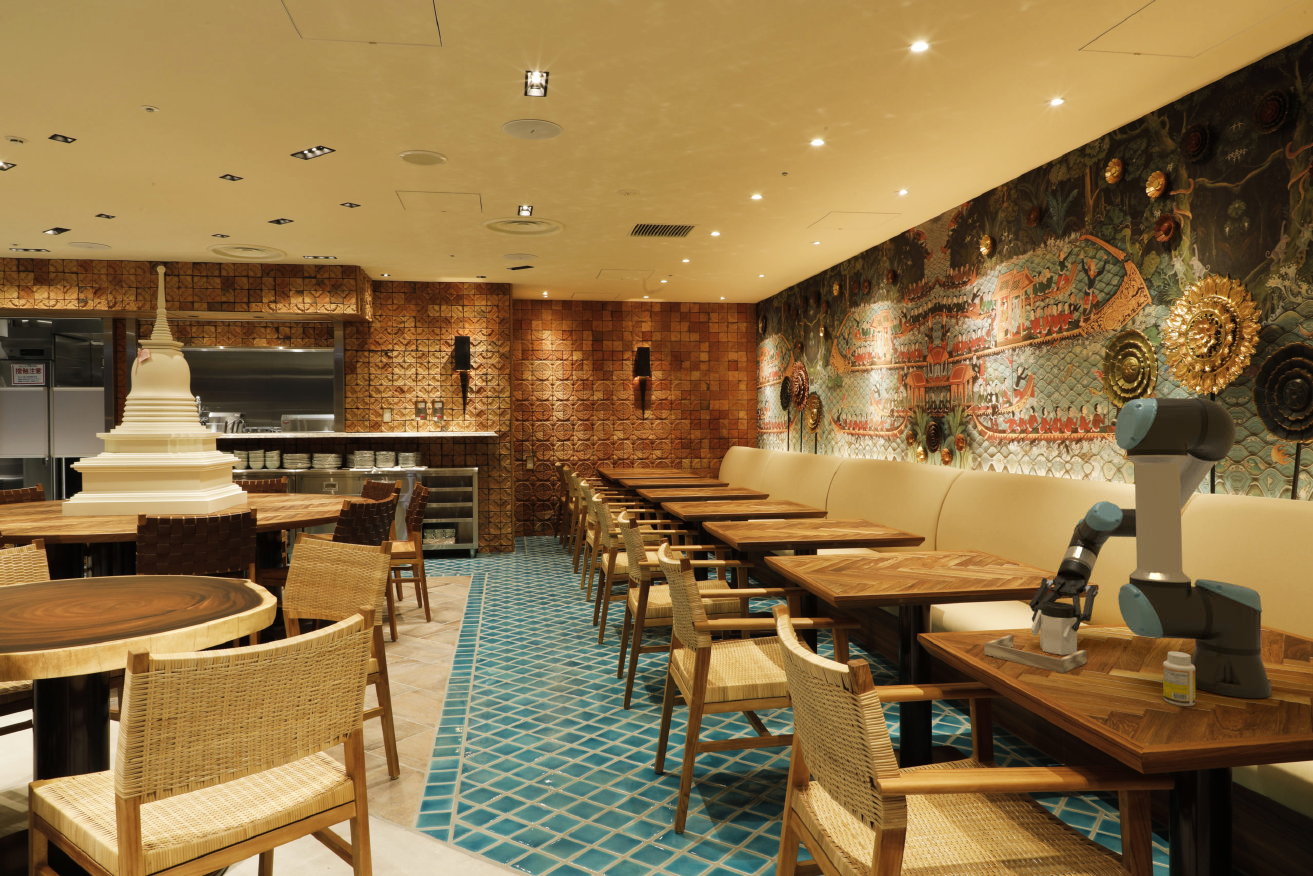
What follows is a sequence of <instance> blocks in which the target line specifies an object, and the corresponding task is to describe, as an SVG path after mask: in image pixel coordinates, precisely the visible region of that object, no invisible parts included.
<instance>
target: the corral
mask: <svg viewBox="0 0 1313 876" xmlns="http://www.w3.org/2000/svg"><path fill="white" fill-rule="evenodd" d="M1014 637H1015V636H1014V635H1012V634H1008V635H1005V636H1002V637H999V638H997V639H993V640H989V641H986V642H984V646H983V647H984V651H983V652H984V653H983V654H984V656H987V655H988V657H991V656H993V657H992V658H996V659H1000V660H1005V661H1009V662H1013V663H1017V664H1022V665H1026V666H1030V667H1034V668H1039V669H1043V670H1048V671H1052V672H1056V673H1061V674H1064V673H1067V672H1069V671H1071V670H1073V669H1075V668H1078V667H1080V666H1082V665H1084V664H1086V663H1087V650H1086V649H1081V650H1077V652H1075V653H1073V654H1070V655H1065V656H1064V657H1061V658H1058V657H1054V656H1050V655H1044V654H1040V653H1035V652H1031V651H1026V650H1021V649H1016V648H1014ZM1011 647H1012V648H1011Z"/></svg>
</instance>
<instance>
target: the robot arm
mask: <svg viewBox="0 0 1313 876" xmlns="http://www.w3.org/2000/svg"><path fill="white" fill-rule="evenodd" d="M1114 428H1115V429H1114V437H1115V441H1116V444H1117V446H1118V447H1119V448H1120V449H1121V450H1125V451H1126V458H1127V459H1128V460H1129V461H1130V462H1132V463H1133V465H1134V488H1135V489H1134V490H1135V491H1134V494H1135V495H1134V496H1135V497H1134V499H1135V500H1134V501H1135V508H1120V507H1119V506H1118V505H1117V504H1115V503H1113V502H1110V501H1107V500H1106V501H1104V500H1103V501H1099V502H1096V503H1095V504H1094V505H1092V507H1090V509H1088V511H1087V512H1086V514H1085V516H1084V518H1081V519H1080V520H1078V522H1077V524H1076V525H1075V527H1074V529H1073V533H1072V536H1071V538H1070V541H1069V543H1068V546H1067V549H1066V551H1065V553H1064V555H1063V558H1062V561H1061V563H1060V565H1059V567H1058V571H1057V574H1056V576H1055V577H1054V578H1052V579H1047V578H1046V577H1043V578H1042V579H1041V581H1040V582H1041V584H1040V586H1039V588H1038V589H1037V591H1036V592H1035V594H1034V596H1033V597H1032V599H1031V600H1030V602H1029V607H1030V609H1031V611H1032V612H1033V615H1032V617H1031V621H1032V625H1031V628H1030V631H1031V633H1032V636H1034V637H1038V634H1039V633H1040V612H1041V603H1043V602H1057V600H1060V599H1061V598H1062V597H1069V598H1072V605H1074V606H1076V613H1075V616H1076V618H1077V622H1076V623H1075V624H1074V625H1073V626H1072V627H1071V624H1070V625H1069V626H1068V628H1067V629H1066V630H1065V632H1064V635H1063V637H1064V639H1065V641H1066V642H1067V643H1069V642H1070V640H1071V628H1072V629H1073V630H1074V631H1076V632H1077V633H1078V630H1079V628H1080V626H1081V623H1082V622H1084V621H1085V622H1091V619H1092V615H1093V608H1094V602H1095V598H1096V597H1097V595H1098V594H1099V592H1098V590H1097V587H1096V585H1094V584H1093V585H1088V584H1089V581H1090V578H1091V577H1092V576H1091V575H1092V572H1093V571H1094V568H1095V564H1096V562H1097V559H1098V557H1099V554H1100V552H1101V550H1102V548H1103V546H1104V545H1105V543H1106V542H1107V541H1108V539H1110V538H1114V537H1115V538H1119V537H1120V538H1135V539H1136V540H1135V541H1136V543H1135V545H1136V547H1135V548H1136V569H1135V570H1134V571H1132V572H1131V573H1130V574H1129V576H1128V577H1129V578H1128V579H1129V582H1128V583H1126V584H1122V585H1121V587H1119V592H1118V598H1117V601H1118V606H1119V611H1120V614H1121V617H1122V619H1123V621H1124V623H1125V624H1126V627H1128V629H1129V630H1130V631H1131V632H1132V633H1133V634H1134V635H1136V636H1139V637H1144V638H1154V639H1158V640H1160V639H1180V640H1195V642H1194V643H1195V644H1194V646H1195V648H1194V650H1193V653H1192V655H1191V664H1193V665H1194V666H1195V689H1200V690H1202V691H1205V692H1210V693H1214V694H1217V695H1223V696H1228V697H1233V698H1241V699H1242V698H1245V699H1263V698H1268V697H1269V698H1270V697H1271V695H1272V683H1271V680H1270V679H1268V675H1267V672H1266V668H1265V665H1264V663H1263V660H1262V649H1261V648H1262V612H1263V609H1262V601H1261V595H1260V594H1259V592H1258V591H1256V590H1255V589H1254V588H1250V587H1246V586H1244V585H1240V584H1233V583H1229V582H1224V581H1218V580H1211V579H1204V578H1198V579H1196V580H1195V582H1194V583H1193V584H1194V586H1192V579H1191V578H1190V577H1189V576H1188V575H1186V574H1185V572H1184V571H1183V546H1182V545H1183V542H1182V541H1183V539H1182V533H1183V532H1182V510H1183V508H1184V507H1185V505H1187V503H1188V501H1189V500H1190V498H1191V497H1192V495H1193V494H1194V493H1195V492H1196V490H1197V489H1198V487H1199V486H1200V485H1201V484H1202V482H1203V480H1204V479H1205V478H1206V476H1207V475H1208V473H1209V472H1210V471H1211V470H1212V468H1213V467H1214V466H1215V464H1216V463H1218V462H1220V461H1222V460H1224V459H1226V457H1227V456H1228V454H1229V453H1230V452H1231V451H1232V448H1233V447H1234V445H1235V442H1236V436H1237V428H1236V423H1235V420H1234V418H1233V416H1232V415H1231V413H1230V412H1229V411H1228V410H1227V409H1226V408H1225V407H1224V406H1222V405H1221V404H1220V403H1218V402H1216V401H1214V400H1211V399H1207V398H1201V397H1192V398H1187V397H1186V398H1183V397H1182V398H1176V397H1175V398H1174V397H1171V398H1170V397H1147V398H1137V399H1131V400H1129V401H1128V402H1126V404H1124V405H1123V406H1122V408H1121V410H1120V411H1119V413H1118V416H1117V418H1116V422H1115V427H1114ZM1052 586H1053V587H1052ZM1050 589H1051V591H1050V592H1049V590H1050ZM1085 591H1086V594H1085V600H1084V603H1083V604H1084V605H1083V611H1082V608H1081V602H1080V601H1081V597H1080V595H1081V594H1083V593H1084V592H1085ZM1048 592H1049V593H1048Z"/></svg>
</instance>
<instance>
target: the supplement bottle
mask: <svg viewBox="0 0 1313 876" xmlns="http://www.w3.org/2000/svg"><path fill="white" fill-rule="evenodd" d="M1166 657H1167V659H1166V660H1165V661H1163V664H1162V669H1163V671H1162V676H1163V677H1162V678H1163V680H1162V683H1163V684H1162V686H1163V687H1162V689H1163V692H1162V694H1163V699H1164V701H1165V702H1167V703H1168V704H1172V705H1174V706H1179V707H1180V706H1181V707H1192V706H1194V705H1196V703H1197V702H1196V700H1197V699H1196V687H1195V666H1194V665H1193V664H1191V658H1192V655H1190V654H1188V653H1186V652H1182V651H1175V650H1174V651H1168V652H1167V656H1166Z"/></svg>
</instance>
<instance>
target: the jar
mask: <svg viewBox="0 0 1313 876" xmlns="http://www.w3.org/2000/svg"><path fill="white" fill-rule="evenodd" d="M1075 613H1076V606H1074V605H1073V603H1068V602H1061V601H1055V602H1043V603H1041V612H1040V630H1039V634H1040V635H1039V637H1040V639H1039V641H1040V642H1039V644H1040V645H1039V647H1040V648H1041V650H1042V652H1044V651H1045V653H1050V654H1055V655H1058V654H1059V656H1068V655H1070V654H1073V653H1075V652H1078V631H1077V632H1076V631H1074V630H1073V629H1072V628H1071V640H1070V642H1069V643H1067V642H1066V641H1065V639H1064V637H1063V635H1064V632H1065V630H1066V629H1067V628H1068V626H1069V625H1070V624H1071V627H1072V626H1073V625H1074V624H1075V623H1076V622H1077V618H1076V616H1075Z"/></svg>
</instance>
